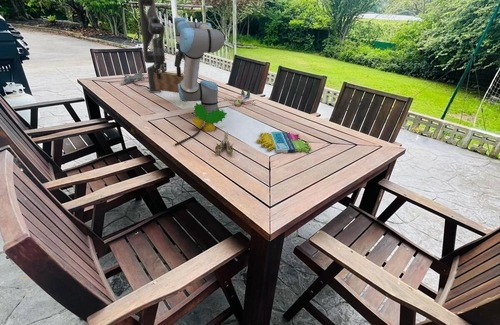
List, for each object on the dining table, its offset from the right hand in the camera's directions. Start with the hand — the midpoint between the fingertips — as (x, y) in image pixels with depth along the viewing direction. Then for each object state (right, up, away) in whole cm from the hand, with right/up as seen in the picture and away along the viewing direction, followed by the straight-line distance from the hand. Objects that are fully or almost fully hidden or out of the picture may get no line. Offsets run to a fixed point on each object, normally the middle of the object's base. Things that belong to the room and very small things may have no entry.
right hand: (183, 75), depth 190 cm
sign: (+67, -52, -37) cm, 93 cm away
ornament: (+23, -42, -25) cm, 54 cm away
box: (-12, -9, +9) cm, 17 cm away
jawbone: (+35, -58, -51) cm, 85 cm away
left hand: (-18, 0, +7) cm, 19 cm away
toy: (+41, -12, +31) cm, 53 cm away
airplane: (-67, +18, +70) cm, 98 cm away
